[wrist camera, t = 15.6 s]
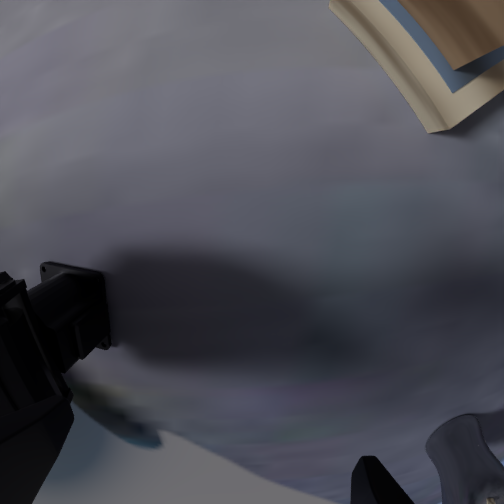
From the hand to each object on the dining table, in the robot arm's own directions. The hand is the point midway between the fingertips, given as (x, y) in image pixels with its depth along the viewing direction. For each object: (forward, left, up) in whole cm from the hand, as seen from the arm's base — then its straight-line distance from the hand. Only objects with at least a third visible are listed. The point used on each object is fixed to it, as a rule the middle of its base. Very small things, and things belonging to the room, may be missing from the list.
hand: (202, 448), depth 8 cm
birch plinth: (+10, +18, -13) cm, 24 cm away
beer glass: (+21, -14, -13) cm, 28 cm away
